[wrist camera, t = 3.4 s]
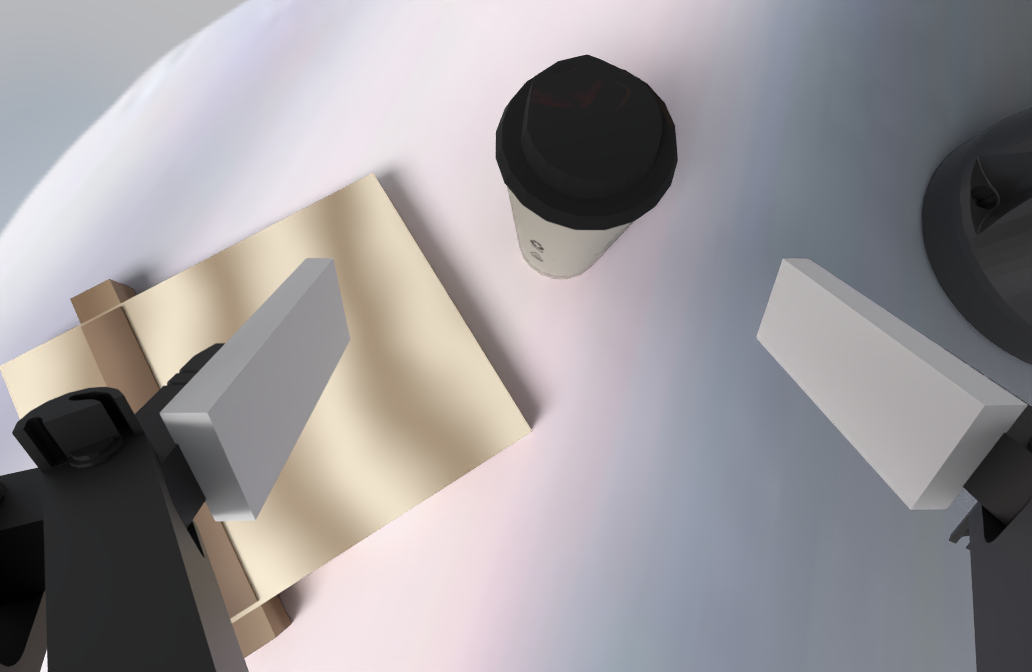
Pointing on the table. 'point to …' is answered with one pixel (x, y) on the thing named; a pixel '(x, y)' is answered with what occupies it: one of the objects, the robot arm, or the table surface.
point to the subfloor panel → (341, 408)
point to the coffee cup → (582, 161)
